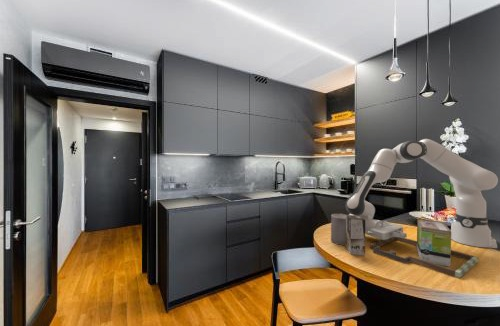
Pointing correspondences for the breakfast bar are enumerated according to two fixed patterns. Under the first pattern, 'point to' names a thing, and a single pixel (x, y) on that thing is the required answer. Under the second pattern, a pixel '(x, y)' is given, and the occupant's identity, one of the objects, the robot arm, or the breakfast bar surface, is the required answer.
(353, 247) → the coffee box
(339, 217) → the pillar candle
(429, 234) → the tea box
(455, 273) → the channel
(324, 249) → the breakfast bar surface
